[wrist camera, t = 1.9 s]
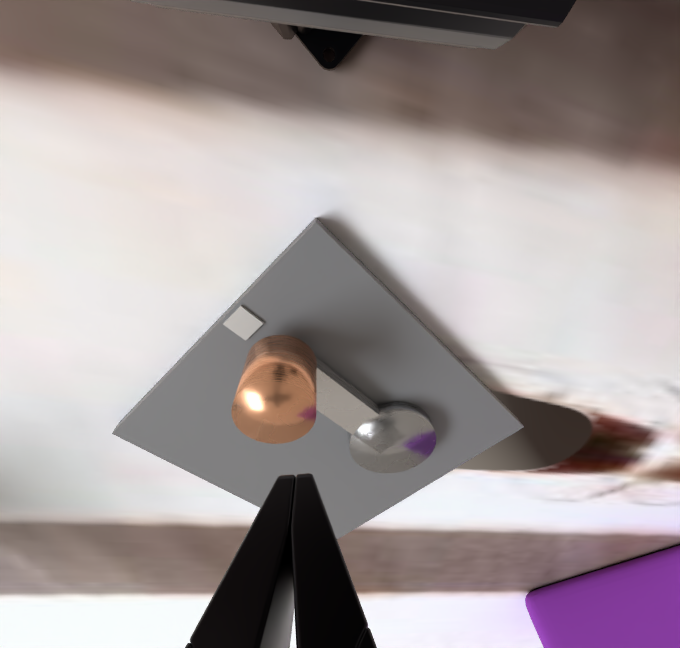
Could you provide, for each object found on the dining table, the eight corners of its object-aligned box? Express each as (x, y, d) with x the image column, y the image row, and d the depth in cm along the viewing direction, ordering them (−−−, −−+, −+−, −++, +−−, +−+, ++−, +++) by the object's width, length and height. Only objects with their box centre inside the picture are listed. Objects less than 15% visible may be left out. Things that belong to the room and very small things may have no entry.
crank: (448, 431, 25) (476, 496, 21) (385, 472, 27) (398, 539, 23) (291, 301, 19) (283, 353, 15) (225, 365, 21) (201, 427, 17)
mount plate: (315, 217, 18) (315, 222, 17) (517, 417, 26) (524, 428, 25) (119, 422, 25) (110, 435, 24) (330, 531, 33) (331, 544, 32)
